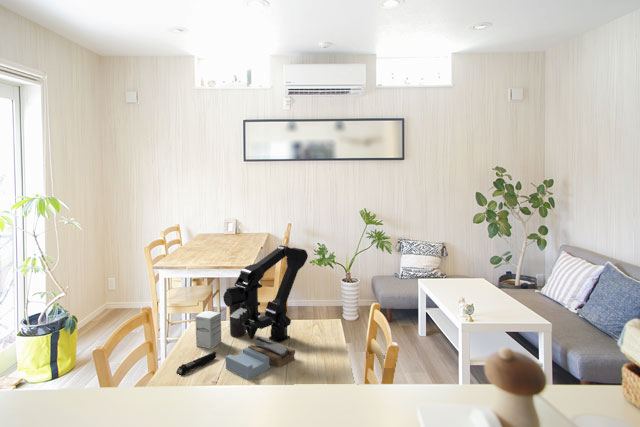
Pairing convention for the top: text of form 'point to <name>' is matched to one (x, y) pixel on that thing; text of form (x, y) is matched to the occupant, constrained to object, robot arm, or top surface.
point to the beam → (275, 356)
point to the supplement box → (208, 329)
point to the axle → (271, 347)
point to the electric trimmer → (195, 363)
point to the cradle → (247, 363)
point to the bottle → (234, 328)
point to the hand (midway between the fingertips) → (251, 339)
